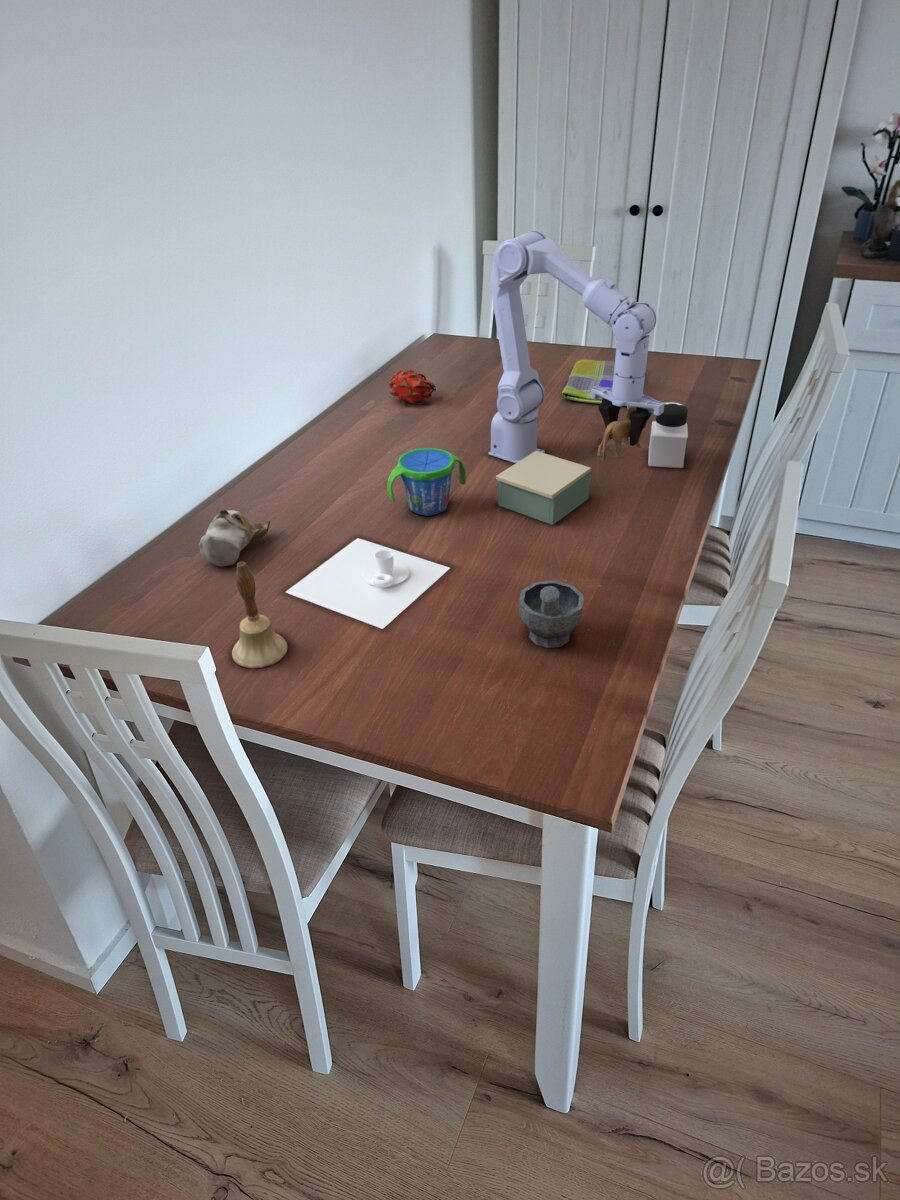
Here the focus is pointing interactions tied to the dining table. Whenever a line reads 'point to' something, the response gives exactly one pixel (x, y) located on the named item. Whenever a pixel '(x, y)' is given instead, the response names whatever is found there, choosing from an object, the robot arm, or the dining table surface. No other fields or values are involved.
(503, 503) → the box
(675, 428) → the medicine bottle
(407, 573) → the teacup and saucer
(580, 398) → the dish towel
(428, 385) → the dragon fruit
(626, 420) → the lion figurine
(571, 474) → the lid
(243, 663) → the hand bell
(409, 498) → the snack cup
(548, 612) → the mortar and pestle
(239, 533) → the ceramic sculpture
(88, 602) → the dining table surface
